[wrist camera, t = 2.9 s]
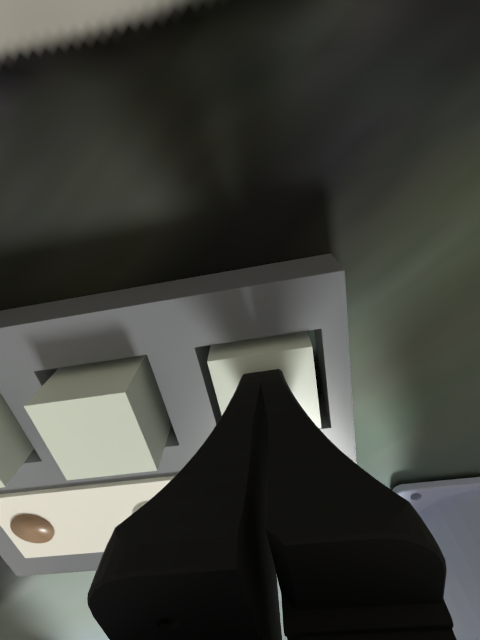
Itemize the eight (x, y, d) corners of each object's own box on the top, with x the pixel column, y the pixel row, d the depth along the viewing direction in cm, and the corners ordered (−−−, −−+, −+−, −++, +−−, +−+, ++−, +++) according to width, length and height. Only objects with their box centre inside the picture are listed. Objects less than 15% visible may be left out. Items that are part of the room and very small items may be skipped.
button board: (330, 253, 12) (347, 273, 10) (351, 510, 18) (363, 557, 16) (-109, 329, 14) (-172, 359, 12) (38, 538, 20) (13, 582, 18)
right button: (302, 315, 13) (312, 346, 11) (311, 387, 15) (321, 428, 12) (214, 328, 14) (207, 361, 11) (231, 398, 15) (228, 438, 13)
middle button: (146, 352, 13) (125, 392, 11) (171, 423, 14) (157, 470, 12) (61, 365, 13) (23, 406, 11) (94, 432, 15) (66, 480, 13)
